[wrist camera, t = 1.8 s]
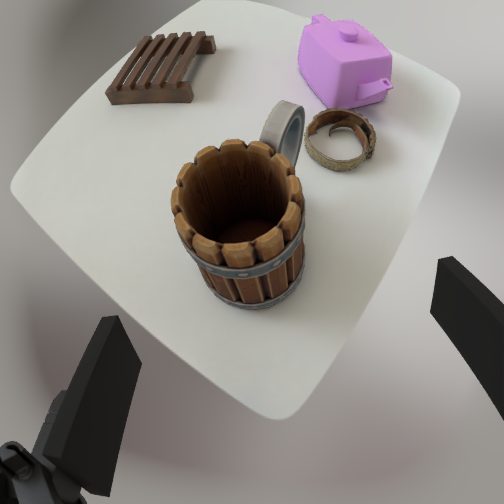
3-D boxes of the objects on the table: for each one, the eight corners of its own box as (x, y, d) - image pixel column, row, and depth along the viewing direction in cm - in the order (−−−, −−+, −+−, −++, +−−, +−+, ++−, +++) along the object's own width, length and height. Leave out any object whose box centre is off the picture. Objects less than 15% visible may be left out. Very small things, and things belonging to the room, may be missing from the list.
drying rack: (111, 104, 43) (102, 88, 40) (144, 52, 47) (138, 37, 44) (190, 102, 41) (184, 83, 38) (216, 48, 46) (212, 30, 42)
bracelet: (381, 139, 37) (387, 125, 34) (356, 186, 35) (362, 173, 32) (322, 111, 39) (324, 96, 36) (292, 153, 37) (292, 139, 34)
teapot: (403, 120, 38) (425, 67, 28) (341, 136, 38) (354, 77, 28) (340, 47, 44) (347, -1, 34) (284, 58, 43) (283, 6, 34)
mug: (276, 329, 31) (275, 306, 17) (185, 283, 33) (122, 230, 19) (336, 199, 35) (364, 107, 21) (252, 166, 37) (237, 69, 23)
